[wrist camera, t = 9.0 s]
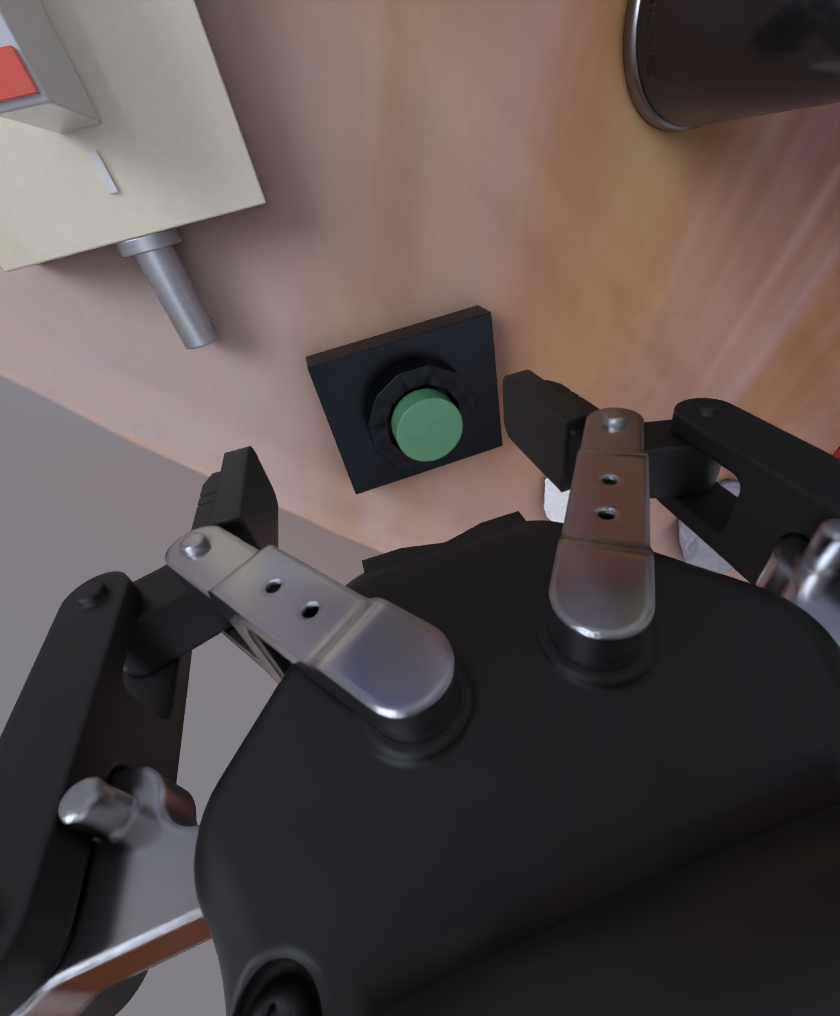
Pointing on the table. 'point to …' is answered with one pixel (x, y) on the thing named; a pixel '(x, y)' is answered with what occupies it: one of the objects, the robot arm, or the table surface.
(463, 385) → the button housing
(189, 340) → the spout
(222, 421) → the table surface
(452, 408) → the push button
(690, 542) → the stone block
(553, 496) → the pincushion
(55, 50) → the pale grey rectangular block
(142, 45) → the block
